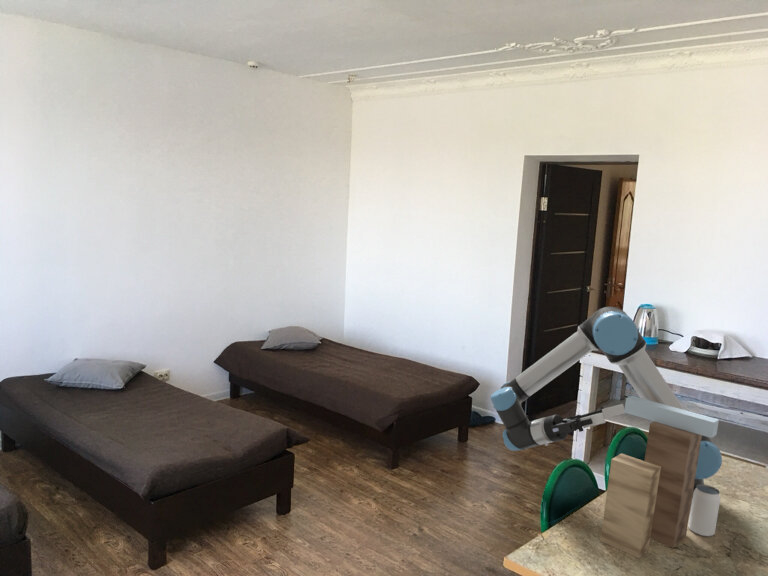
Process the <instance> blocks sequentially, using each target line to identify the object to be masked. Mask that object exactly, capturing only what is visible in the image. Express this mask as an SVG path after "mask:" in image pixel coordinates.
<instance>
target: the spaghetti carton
mask: <svg viewBox="0 0 768 576" xmlns="http://www.w3.org/2000/svg"><path fill="white" fill-rule="evenodd" d="M624 404H625V405H624V408H625V410H624V414H628V415H631V416H635V417H639V418H642V419H646V420H648V421H652V422H654V421H655V422H658V423H662V424H665V425H669V426H672V427H675V428H679V429H682V430H686V431H689V432H693V433H696V434H699V435H703V436H706V437H710V439H712V438H714V437H716V436H717V434H718V427H719V422H720V421H719V420H720V419H718V418H715V417H711V416H708V415H704V414H701V413H697V412H693V411H690V410H685V409H684V410H682V409H679V408H675V407H671V406H668V405H664V404H660V403H657V402H653V401H649V400H646V399H642V398H640V397H639V396H633V395H631V396H629V397H626V399H625V403H624Z"/></svg>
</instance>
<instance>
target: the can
mask: <svg viewBox="0 0 768 576" xmlns="http://www.w3.org/2000/svg"><path fill="white" fill-rule="evenodd" d="M720 502H721V496H720V491H719V489H717V488H716V487H713V486H711V485H707V484H705V485H697V486H696V489H695V490H694V493H693V498H692V501H691V507H690V513H689V520H688V526H687V528H689V530H690V531H691V532H692V533H694V534H696V535H698V536H701V537H707V538H708V537H712V536H713V535H715V533H716V527H717V521H718V514H719V511H720V510H719V509H720Z"/></svg>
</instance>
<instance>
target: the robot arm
mask: <svg viewBox="0 0 768 576" xmlns="http://www.w3.org/2000/svg"><path fill="white" fill-rule="evenodd" d="M644 338H645V337H643V335H642V334H641V332H640V331H639V329H638V328H637V325H636V323H635V321H634V320H633V319H632V318H631V317H630V316H629V315H628V314H627V312H625V311H624V310H623V309H622V308H619V307H616V306H605V307H602V308H599V309H598V310H597V311H595V312H594V313H593V314H591V315H590V316H589V317H588V318H587V319H586V320H584V321H583V322H582V323H581V324H579V325H578V326H577V331H576V332H574V333H572V334H571V335H570V336H569V337H568V338H566V339H565V340H564V341H562V342H561V343H559V344H558V345H557V346H556V347H555V348H553V349H552V350H550V351H549V352H547V353H546V354H545V355H544V356H542V357H541V358H539V359H538V360H537V361H536V362H534V363H533V364H532V365H530V366H529V367H527V368H526V369H525V370H524V371H523V372H521V373H520V374H518V375H517V376H516V377H515V378H514V379H512V380H510V381H507V382H505V383H504V384H502V385H501V386H500V389H497V390H496V391H494V392H493V393H492V394H491V395H490V401H491V403H492V405H493V408H494V409H495V411H496V413H497V415H498V417H499V418H500V420H501V422H502V424H503V425H504V428H505V429H504V430H503V431H502V439H503V444H504V445H505V447H506V448H507V449H508V450H509V451H512V452H516V451H524V450H528V449H530V448H534V447H537V446H538V447H539V446H542V445H544V446H545V447H547V446H548V445H549V444H550V443H555V442H559V441H564V440H566V438H567V437H568V433H571V432H577V431H578V432H579V433H581V432H584V429H586V428H589V427H590V428H591V427H593V426H597V425H603V424H606V423H607V421H606V419H608V418H611V417H616V416H619V415H623V414H625V413H624V410H625V405H624V403H620V404H617V405H616V404H615V405H612V406H609V407H605V408H604V407H603V406H600V407H599V408H600V409H597V410H594V411H590V412H588V413H587V412H586V413H584V414H577V415H574V416H567V417H566V418H563V417H562V416H561V415H559V414H553V415H549V416H545V417H541V418H538V419H534V420H529V418H528V416H527V415H526V412H525V411H524V409H523V407H522V403H523V402H525V401H526V400H528V398H530V397H531V396H532V395H533V394H535V393H536V392H538V391H539V390H541V389H542V388H543V387H545V386H546V385H548V384H549V383H550V382H551V381H553V380H554V379H556V378H557V377H559V376H560V375H562V373H564V372H565V371H566V370H568V369H569V368H571V367H572V366H573V365H575V364H576V363H577V362H579V361H581V360H582V359H583V358H584V357H585V356H587V355H588V354H590V353H591V352H592V351H599V350H601V351H602V352H603V354H604V355H605V356H606V358H607V360H608V361H609V363H610V364H613V365H616V366H618V367H619V369H620V370H621V372H622V373H623V374H624V376H625V378H626V379H627V380H628V382H629V383H630V385H631V386H632V388H633V389H634V391H635V393H636V395H637V396H638V398H642V399H646V400H649V401H653V402H657V403H660V404H664V405H668V406H671V407H675V408H679V409H682V410H685V408H684V406H683V405H682V404H681V402H680V400H679V399H678V398H677V396H676V395H675V393H674V392H673V390H672V389H671V387H670V386H669V384H668V382H667V381H666V379H665V378H664V376H663V375H662V374H661V373H660V370H659V369H658V367H657V366H656V365H655V363H654V362H653V360H652V359H651V357H650V356H649V354H648V352H646V348H647V341H646V340H645V339H644ZM722 464H723V457H722V453H721V451H720V449H719V447H718V446H717V445H716V444H715V443H714V442H713V440H712V438H710V437H706V436H703V435H702V438H701V444H700V451H699V457H698V463H697V469H696V476H695V482H694V488H693V493H694V490H695V489H696V486H697V485H706V484H705V479H710V478H711V477H713V476H715V475H716V474H717V473H718V472H719V471H720V469H721V467H722ZM692 498H693V495H692Z"/></svg>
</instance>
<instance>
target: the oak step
mask: <svg viewBox="0 0 768 576" xmlns="http://www.w3.org/2000/svg"><path fill="white" fill-rule="evenodd" d="M660 470H661V467H660V466H657V465H654V464H651V463H648V462H645V460H642V459H639V458H637V457H633V456H630V455H627V454H625V453H619V454H618V455H616V456H615V457H612V458H611V460H610V467H609V476H608V481H607V490H606V496H605V497H606V498H605V503H604V510H603V511H604V512H603V517H602V526H601V532H600V533H601V534H600V542H602V543H605V544H606V545H609V546H611V547H614V548H616V549H619V550H620V551H623V552H625V553H627V554H630V555H631V556H634V557H636V558H638V559H640V558H641V557H642V556H643V555H645V553H646V552H647V551H649V549H650V542H651V539H650V536H651V530H652V523H653V517H654V510H655V503H656V497H657V490H658V483H659V477H660Z"/></svg>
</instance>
